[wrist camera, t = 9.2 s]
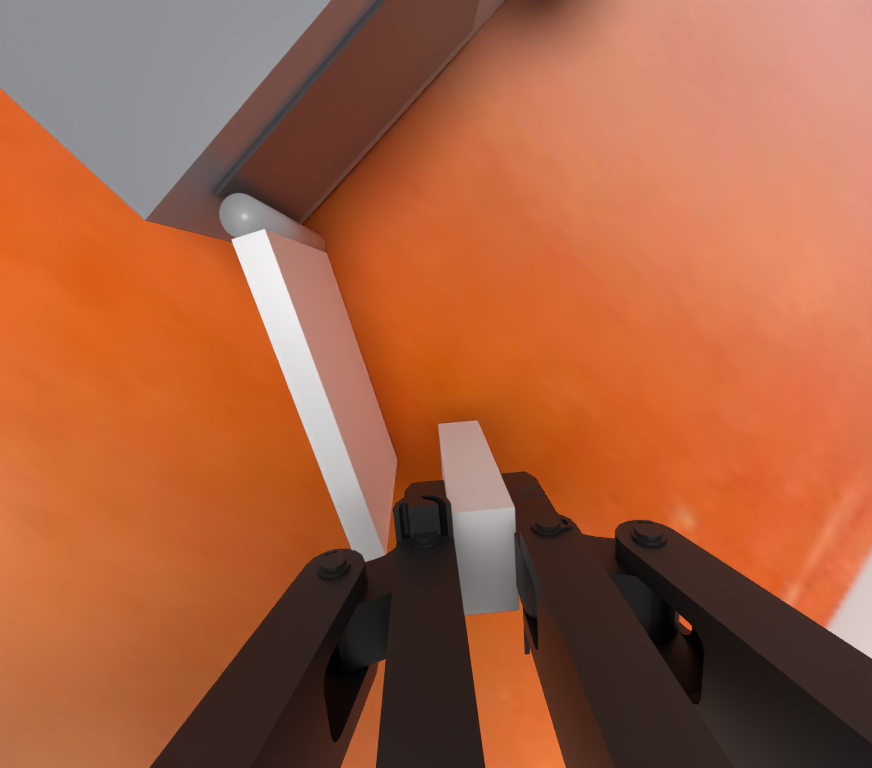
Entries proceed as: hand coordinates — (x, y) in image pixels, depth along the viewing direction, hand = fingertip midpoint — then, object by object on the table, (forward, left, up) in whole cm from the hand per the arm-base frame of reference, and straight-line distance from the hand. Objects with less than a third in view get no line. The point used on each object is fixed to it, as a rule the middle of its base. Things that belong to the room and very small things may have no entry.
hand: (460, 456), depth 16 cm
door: (-2, +6, -6) cm, 9 cm away
